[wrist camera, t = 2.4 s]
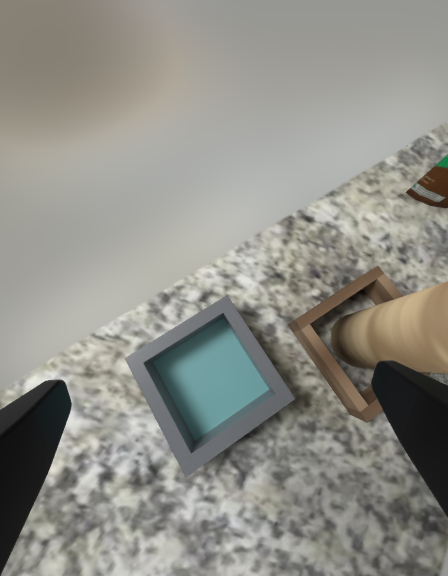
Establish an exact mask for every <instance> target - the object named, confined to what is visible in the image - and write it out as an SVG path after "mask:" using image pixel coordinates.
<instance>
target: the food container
mask: <svg viewBox="0 0 448 576" xmlns="http://www.w3.org/2000/svg"><path fill="white" fill-rule="evenodd" d="M406 193H407V194H409V195H410V196H411V197H413V198H414V199H416V200H418V201H421V202H423V203H425V204H428V205H430V206H436V207H443V208H448V155H447V156H445V157H444V158H443V159H442V160H441V161H440V162H439V163H438V164H437V165H435V166H434V167H433V168H432V169H431V170H430V171H429V172H428V173H427V174H425V175H424V176H423V177H422V178H421V179H420V180H419V181H418V182H417V183H415V184H414V185H413V186H412V187H411V188H410V189H409V190H408V191H407V192H406Z"/></svg>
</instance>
